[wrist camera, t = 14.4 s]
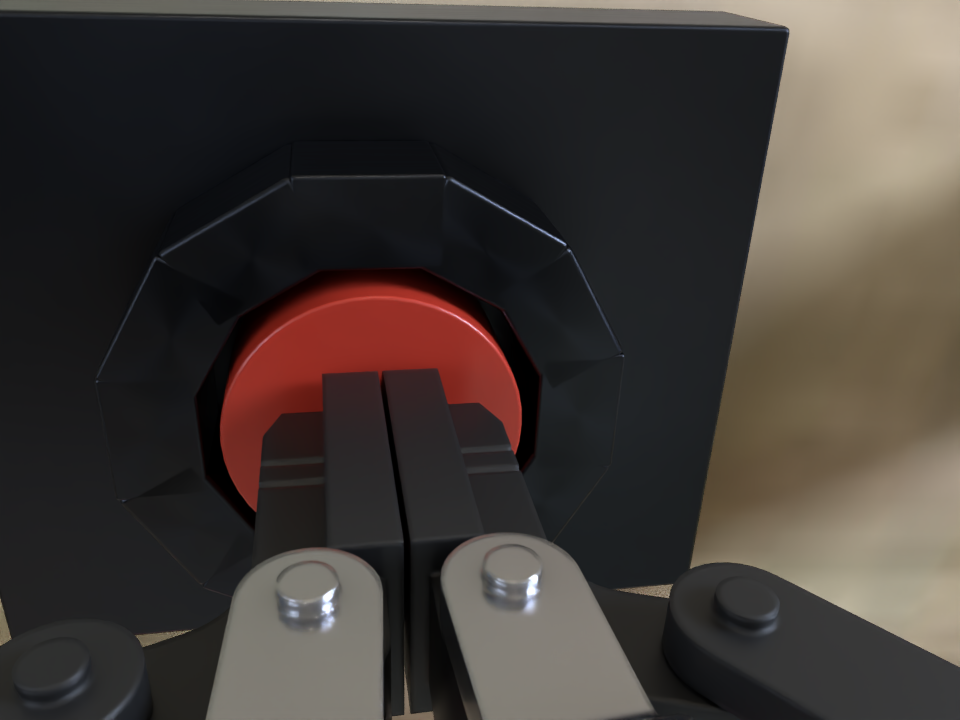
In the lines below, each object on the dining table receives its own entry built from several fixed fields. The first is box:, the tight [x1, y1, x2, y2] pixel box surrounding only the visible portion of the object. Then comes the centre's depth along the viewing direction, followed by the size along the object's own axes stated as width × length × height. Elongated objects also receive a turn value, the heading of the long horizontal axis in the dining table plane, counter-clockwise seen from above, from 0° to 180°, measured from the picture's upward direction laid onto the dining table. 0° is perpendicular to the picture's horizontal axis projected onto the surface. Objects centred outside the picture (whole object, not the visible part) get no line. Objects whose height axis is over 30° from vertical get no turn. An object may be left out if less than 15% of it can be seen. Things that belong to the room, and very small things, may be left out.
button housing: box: [0, 0, 789, 639], centre depth 14 cm, size 12×10×4 cm
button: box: [220, 268, 522, 512], centre depth 12 cm, size 4×4×2 cm
